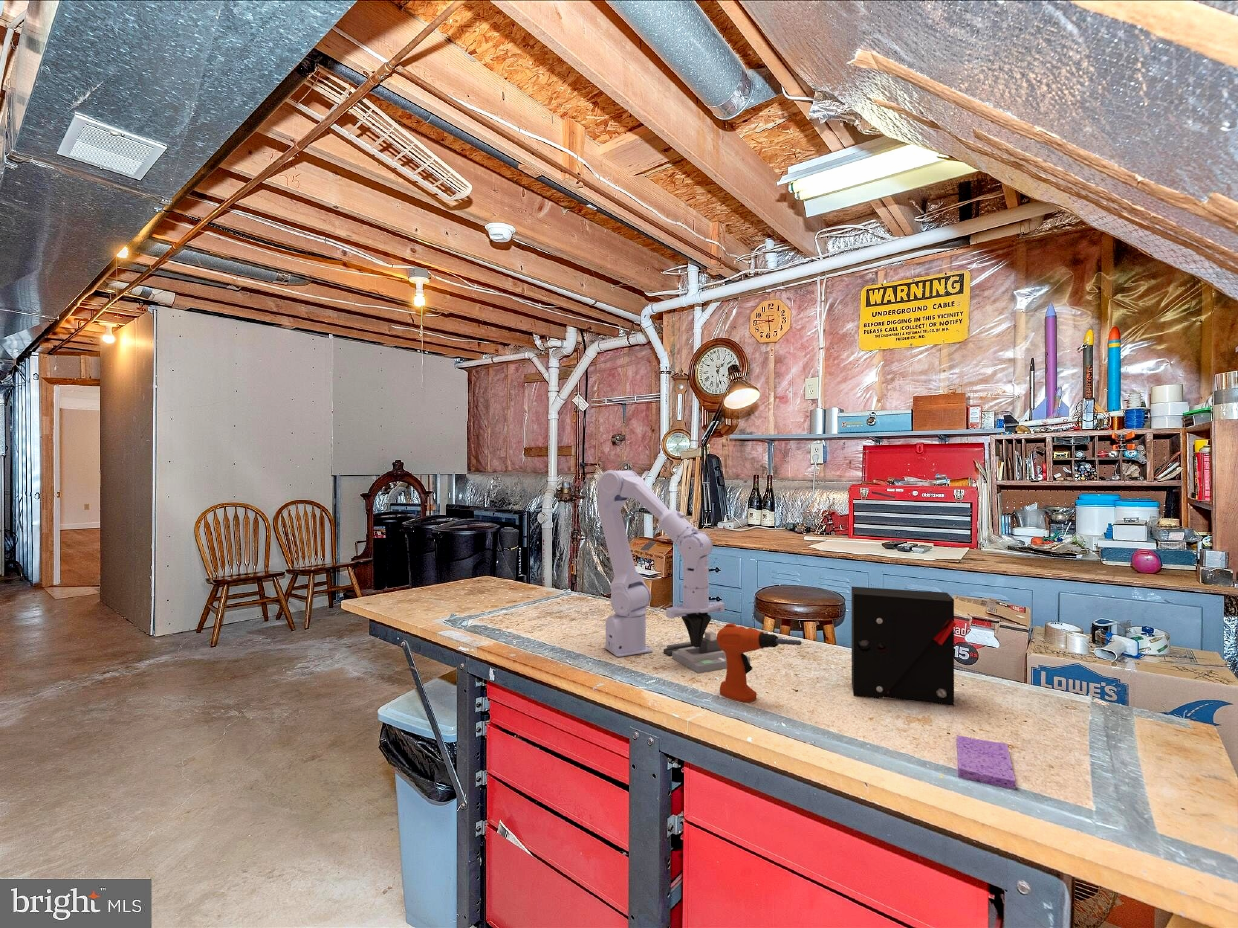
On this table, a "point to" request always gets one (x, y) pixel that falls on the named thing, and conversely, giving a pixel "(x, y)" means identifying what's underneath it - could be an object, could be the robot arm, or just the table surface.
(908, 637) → the electrical component
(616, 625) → the robot arm
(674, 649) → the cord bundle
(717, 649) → the breaker slider
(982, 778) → the sponges
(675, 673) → the table surface
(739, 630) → the toy drill
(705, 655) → the breaker panel
